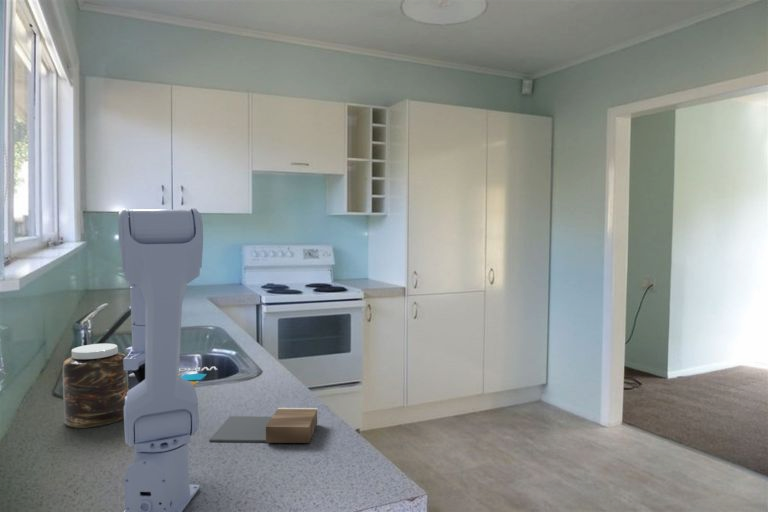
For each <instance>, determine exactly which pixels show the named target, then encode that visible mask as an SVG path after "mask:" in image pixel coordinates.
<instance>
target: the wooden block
mask: <svg viewBox="0 0 768 512" xmlns="http://www.w3.org/2000/svg"><path fill="white" fill-rule="evenodd" d="M318 413H319V411H318V407H277V409H276V411H274V414H273V415H272V416H271V417H272V418H271V420H270V421H269V423H268V424H267V426H266V442H265V443H268V444H269V443H271V444H273V443H274V444H275V443H278V444H280V443H282V444H286V443H287V444H290V443H291V444H297V443H298V444H299V443H300V444H309V443H310V442H311V439H312V437H313V435H314V432H315V429H316V428H317V425H318V423H319V419H318V415H319V414H318Z"/></svg>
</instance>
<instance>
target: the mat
mask: <svg viewBox="0 0 768 512" xmlns="http://www.w3.org/2000/svg"><path fill="white" fill-rule="evenodd" d="M272 417H273V416H254V415H253V416H250V415H249V416H243V415H242V416H239V415H235V416H234V415H231V416H229V417H228V418H227V419H226V420H225V421H224V422H223V424H222V425H221V426H220V427H219V428H218V429H217V430H216V432H215V433H213V435H212V436H211V437H210V438H209V442H213V443H215V442H217V443H220V442H223V443H225V442H226V443H227V442H228V443H266V426H267V424H268V423H269V421H270V420H271V418H272Z"/></svg>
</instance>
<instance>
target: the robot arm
mask: <svg viewBox="0 0 768 512" xmlns="http://www.w3.org/2000/svg"><path fill="white" fill-rule="evenodd" d="M117 214H118V215H117V217H118V220H117V221H118V244H119V247H118V248H119V254H120V258H121V259H120V260H121V263H120V264H121V271H122V272H123V273H124V280H125V281H126V282H127V286H128V287H130V288H129V293H130V296H129V297H130V299H129V300H130V319H131V320H130V323H131V346H129V347H127V348H125V353H126V354H127V356H126V357H125V358H124V359H123V364H124V370H128V371H131V372H132V373H134V375H135V376H134V377H136V380H137V382H138V384H136V385H135V386H133V387H132V388H131V389H128V392H127V396H126V397H125V405H124V419H123V426H124V427H123V428H124V443H125V444H126V445H127V446H129V447H130V448H131V447H134V457H133V460H132V462H131V463H130V464H129V466H128V467H127V468H126V471H125V473H124V477H123V478H124V479H123V480H124V482H123V483H124V485H123V486H124V488H123V489H124V509H125V510H124V511H123V512H183V511H184V510H185V508H186V507H187V506H188V504H189V503H190V502H191V500H192V499H193V498H194V497H195V495H196V494H197V493H198V491H199V490H200V488H201V486H200V484H190V456H189V455H190V453H189V444H190V443H191V441H192V440H191V436H195V435H196V433H197V432H198V431H199V425H200V424H199V422H200V421H199V420H200V416H199V401H198V394H197V390H196V388H195V387H196V386H195V385H194V386H193V384H192V383H191V382H189V381H187V380H185V379H182V378H181V377H180V376H179V374H180V372H179V369H180V361H181V360H180V358H181V357H180V355H181V336H182V334H181V333H182V311H183V310H182V309H183V300H184V298H185V293H186V291H187V290H186V289H187V287H188V286H187V285H188V284H189V283H191V282H193V281H195V280H196V279H197V278H198V277H200V275H201V273H200V272H201V271H200V270H201V268H202V264H203V254H204V253H203V250H204V224H203V218H202V214H201V213H200V212H199V211H198V210H197V208H190V209H148V208H147V209H137V208H136V209H133V208H132V209H130V208H127V207H123V208H122V209H121V210H120V211H119V212H118V213H117Z"/></svg>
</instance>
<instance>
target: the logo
mask: <svg viewBox="0 0 768 512" xmlns="http://www.w3.org/2000/svg"><path fill="white" fill-rule="evenodd" d="M213 369H214V371H218V368H217V367H216V366H210V368H208V367H207V366H204V367H202V368H201V367H194V369H191V367H188V368H183V367H182V368H179V377H180V376H181V377H180V378H182V379H185V380H187V381H189V382H191V383H192V384H193V386H194V387H195V386H196V385H197V383H198V382H200V381H203V379H204V378H206V376H207V375H208V374H207V373H199V372H203V371H204V370H206V371H208V372H209V371H212V370H213ZM187 371H188V372H196V371H197V373H185V372H187ZM182 373H184V374H183V375H182ZM129 377H136V376H135V375H134V373H133V372H132V373H130V374H128V378H129Z"/></svg>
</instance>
